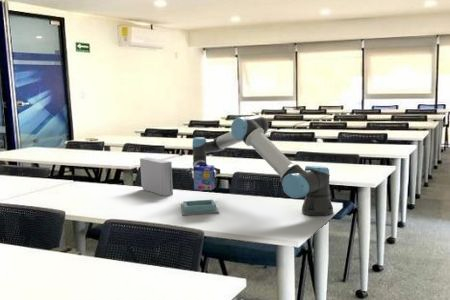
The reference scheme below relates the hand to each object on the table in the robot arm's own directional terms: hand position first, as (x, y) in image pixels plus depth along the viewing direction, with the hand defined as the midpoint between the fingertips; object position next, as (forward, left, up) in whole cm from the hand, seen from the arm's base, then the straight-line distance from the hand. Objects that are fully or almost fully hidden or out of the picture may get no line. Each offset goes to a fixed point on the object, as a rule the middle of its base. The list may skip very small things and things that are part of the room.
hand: (204, 175), depth 252 cm
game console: (+52, +25, -19) cm, 61 cm away
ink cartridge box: (+4, 0, -8) cm, 9 cm away
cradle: (+3, +3, -19) cm, 19 cm away
